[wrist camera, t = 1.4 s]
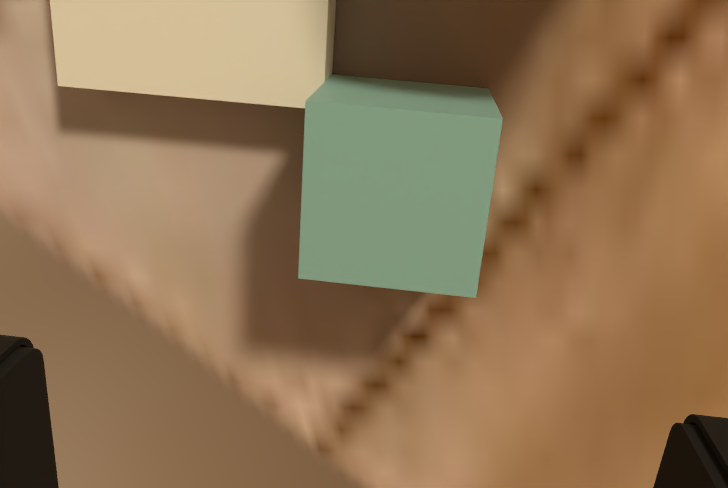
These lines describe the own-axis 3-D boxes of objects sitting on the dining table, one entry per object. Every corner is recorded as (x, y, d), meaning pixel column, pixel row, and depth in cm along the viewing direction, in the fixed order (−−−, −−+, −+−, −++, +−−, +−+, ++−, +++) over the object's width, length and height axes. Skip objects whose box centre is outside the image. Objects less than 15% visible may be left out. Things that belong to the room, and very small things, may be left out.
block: (488, 88, 26) (502, 118, 20) (468, 234, 28) (476, 297, 23) (333, 74, 26) (305, 100, 21) (324, 219, 29) (298, 278, 23)
